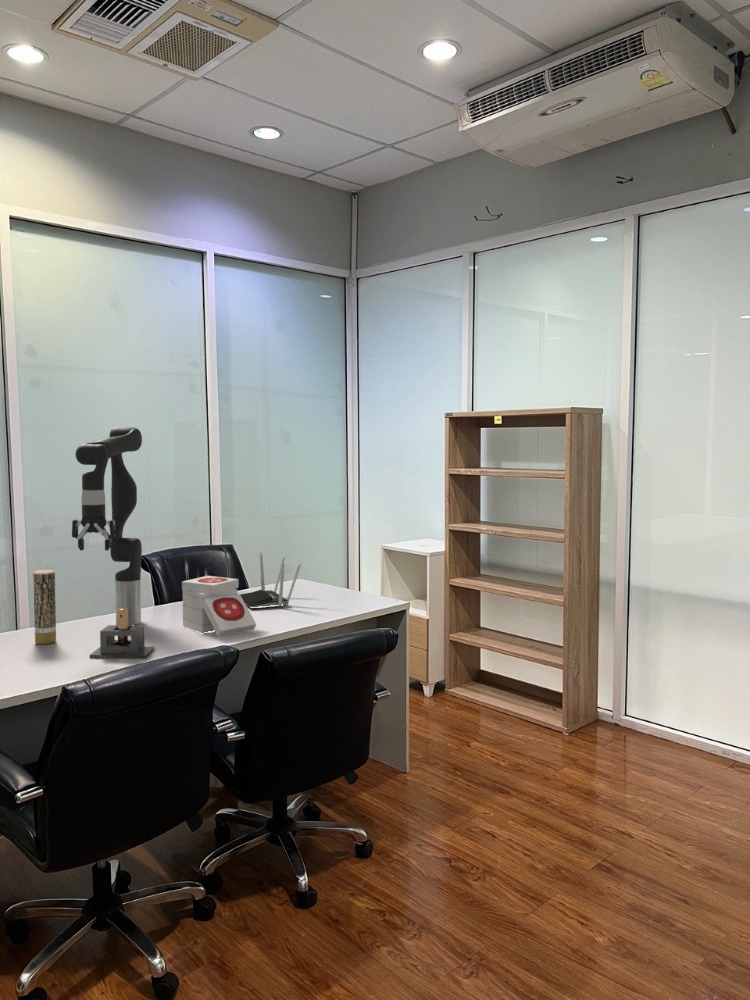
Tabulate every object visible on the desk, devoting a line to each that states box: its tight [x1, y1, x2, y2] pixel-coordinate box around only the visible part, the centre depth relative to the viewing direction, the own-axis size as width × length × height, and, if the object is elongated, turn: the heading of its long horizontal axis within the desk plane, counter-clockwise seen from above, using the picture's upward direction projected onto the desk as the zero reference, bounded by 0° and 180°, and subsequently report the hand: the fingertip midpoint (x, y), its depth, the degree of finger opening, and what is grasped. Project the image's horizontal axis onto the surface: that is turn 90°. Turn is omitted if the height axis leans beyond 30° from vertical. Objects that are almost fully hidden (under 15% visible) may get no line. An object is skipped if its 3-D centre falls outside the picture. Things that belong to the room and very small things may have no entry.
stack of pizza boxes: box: [181, 575, 257, 637], centre depth 286 cm, size 19×30×18 cm, turn 42°
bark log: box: [32, 569, 57, 645], centre depth 265 cm, size 7×7×25 cm
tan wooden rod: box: [117, 608, 129, 645], centre depth 253 cm, size 3×3×14 cm
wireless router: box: [239, 551, 303, 608], centre depth 334 cm, size 34×23×20 cm
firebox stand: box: [89, 624, 156, 660], centre depth 253 cm, size 11×18×8 cm, turn 90°
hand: (94, 550), depth 262 cm, fingers open, 8 cm apart
